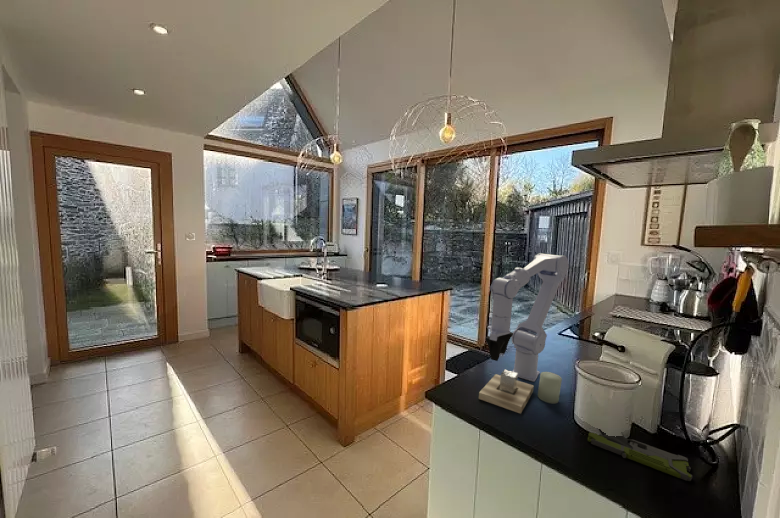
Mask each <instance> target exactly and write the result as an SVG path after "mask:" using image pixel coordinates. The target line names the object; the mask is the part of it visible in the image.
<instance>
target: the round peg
mask: <svg viewBox="0 0 780 518" xmlns="http://www.w3.org/2000/svg"><path fill="white" fill-rule="evenodd" d="M539 375H540V376H539V383H538V389H537V397H538V399H540V401H543V402H545V403H546V404H547V403H548V404H553V405H555V404H558V403H559V400H560V393H561V388H562V387H561V386H562V381H563V378H562V377H561V376H560V375H558V374H556V373H554V372H550V371H542V372H540V374H539Z"/></svg>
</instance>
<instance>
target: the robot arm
mask: <svg viewBox="0 0 780 518" xmlns="http://www.w3.org/2000/svg"><path fill="white" fill-rule="evenodd" d="M569 267H570V266H569V259H568V258H567V256H566V255H557V254H548V253H543V252H538V253H537V254H535V255H534V256H533V260H532V261H531V262H530V263H528V264H527V265H526V266H525V267H523V268H522V267H515V268H514V270H512V271H511V272H509V273H507V274H504V276H503V277H497V278H495V279H493V281H492V282H491V285H490V287H489V289H490V292H491V297H492V298H491V299H492V300H493V301H492V316H491V325H488V326H487V329H488V330H489V331H490V334H489V335H487V336H486V337H485V341H486V343H487V345H488V350H489V357H490V360H492V361H496V362H498V361H499V358H500V354H503V355H505V354H506V352H507V348H508V345H509V342H510V340H511V342H512V344H513V345H514V346H513V347H514V349H515V356H514V357H515V358H514V366H513V369H512V370H511V371H512V372H515V373H518V378H520V379H523V380H526V381H530V382H533V383H534V382H535V381H536V380H537V378H538V376H539V375H540V374H541V372H540V371H539V370H538V363H539V362H538V361H539V354H540V353H542V352H543V350H544V349H545V347H546V342H547V341H546V340H547V338H548V337H547V336H548V335H547V333H546V331H545V330H544V328H543V325H544V324H545V321H546V317H547V315H548V313H549V310H550V308H551V306H552V304H553V301H554V299H555V296H556V294H557V291H558V289H559V287H560V283H562V282H563V281H564V280H565V278H566V274H567V272H568V271H569ZM536 274H537V275H538V277H539V278H540V279H541V280H542V283H541V285H540V289H539V291H538V292H537V293H538V294H537V296H536V298H535V300H534V303H533V305H532V308H531V309H530V312H529V315H528V317H527V318H526V319H527V320H525V321H523V322H520V323H518V325H517V326H516V328H515V329H514V331H513V332H512V331H511V321H512V320H511V319H512V309H513V301H514V300H513V298H515V297H516V296H517V294H518V292H519V291H520V289H521V288H522V287H524V286H525V285H527V284H528V283H529V282H530V280H531V277H533V276H535V275H536Z"/></svg>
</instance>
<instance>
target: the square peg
mask: <svg viewBox="0 0 780 518" xmlns="http://www.w3.org/2000/svg"><path fill="white" fill-rule="evenodd" d="M512 371H513V370H507V369H504V370H502V372H501V373H500V376H501V379H500V391H503V392H506V393H509V394H512V395H515V393H516V388H517V381H518V378H519V377H518V373H515V372H512Z"/></svg>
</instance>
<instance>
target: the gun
mask: <svg viewBox="0 0 780 518" xmlns="http://www.w3.org/2000/svg"><path fill="white" fill-rule="evenodd" d="M587 442H589V443H590V444H591V445H593V446H597V447H598V448H601V449H603V450H606V451H609V452H612V453H614V454H616V455H619V456H622V458H623V459H628V460H631V461H634V462H636V463H639V464H641V465H643V466H646V467H650V468H652V469H654V470H657V471H660V472H662V473H664V474H667V475H670V476H673V477H675V478H678V479H682V480H683V481H686V482H687V481H688V482H691V481H692V480H693V474H691V473H689V472H691V469H692V468H691V467H690V465H689V458H688V457H685V456H683V455H680V454H675V453H671V452H668V451H666V450H663V449H660V448H657V447H655V446H651V445H649V444H646V443H643V442H640V441H638V440H635V439H629V438H626V436H625V435H623V436H616V437H615V436H608V435H606V433H604V432H601V434H598V433H595V432H588V436H587Z"/></svg>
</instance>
